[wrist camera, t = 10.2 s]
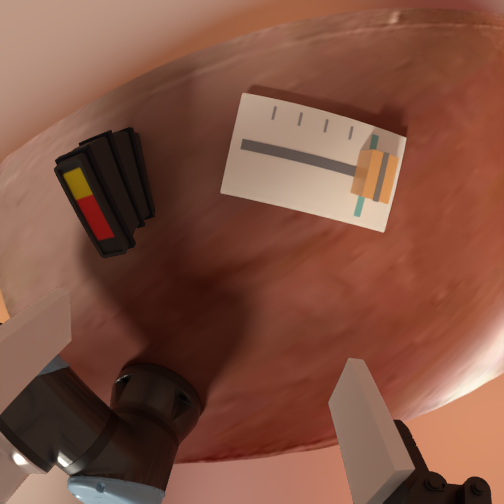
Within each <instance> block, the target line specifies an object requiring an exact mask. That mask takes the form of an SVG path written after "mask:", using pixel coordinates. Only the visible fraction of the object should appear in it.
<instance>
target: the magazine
mask: <svg viewBox="0 0 504 504" xmlns="http://www.w3.org/2000/svg"><path fill="white" fill-rule="evenodd" d="M79 146H80V147H78V148H76V149H74V150H73V151H71V152H69V153H67V154H64V155H62V156H60V157H58V158H57V159H56V160H55V162H56V164H57V166H56V167H55V168H54V172H55V174H56V176H57V178H58V180H59V182H60V184H61V186H62V188H63V190H64V192H65V194H66V195H67V197H68V199H69V201H70V203H71V205H72V207H73V209H74V211H75V212H76V214H77V216H78V218H79V220H80V221H81V223H82V225H83V227H84V229H85V230H86V232H87V234H88V235H89V237H90V239H91V241H92V242H93V244H94V246H95V247H96V249H97V251H98V252H99V254H100V256H101V257H102V258H108V257H112V256H117V255H122V254H125V253H126V251H127V249H129V248H134V246H135V244H136V242H135V240H134V238H133V234H134V231H135V229H136V228H140V227H144V226H145V222H144V220H145V219H149V218H153V217H155V215H154V213H155V209H154V205H153V201H152V196H151V192H150V187H149V183H148V178H147V173H146V169H145V164H144V159H143V154H142V149H141V144H140V139H139V134H138V133H134V130H133V128H131V127H129V128H126V129H123V130H120V131H118V132H114V133H112V131H111V130H109V131H107V132H104V133H102V134H99V135H97V136H94V137H92V138H89V139H87V140H85V141H82V142H80V143H79Z"/></svg>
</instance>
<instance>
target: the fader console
mask: <svg viewBox="0 0 504 504" xmlns="http://www.w3.org/2000/svg"><path fill="white" fill-rule="evenodd" d="M405 143H406V138H405V137H403V136H400V135H398V134H395V133H392V132H389V131H387V130H384V129H381V128H378V127H375V126H372V125H369V124H366V123H363V122H360V121H357V120H354V119H350V118H347V117H344V116H340V115H337V114H333V113H330V112H326V111H323V110H319V109H315V108H311V107H307V106H303V105H299V104H295V103H291V102H287V101H282V100H278V99H273V98H268V97H263V96H258V95H253V94H248V93H242V97H241V101H240V105H239V109H238V114H237V118H236V122H235V127H234V131H233V135H232V140H231V144H230V149H229V154H228V158H227V163H226V167H225V172H224V177H223V182H222V187H221V191H220V193H222V194H227V195H232V196H237V197H241V198H246V199H250V200H255V201H259V202H264V203H268V204H273V205H277V206H281V207H286V208H290V209H294V210H298V211H302V212H307V213H311V214H315V215H319V216H323V217H327V218H331V219H335V220H339V221H342V222H346V223H350V224H354V225H358V226H361V227H365V228H369V229H373V230H376V231H380V232H384V231H385V227H386V223H387V220H388V216H389V212H390V209H391V205H392V201H393V197H394V193H395V189H396V185H397V180H398V176H399V172H400V167H401V163H402V158H403V153H404V148H405ZM371 149H374V150H377V151H380V152H383V153H384V152H387V153H390V154H389V155H392V156H395V157H398V158H399V160H398V165H397V169H396V174H395V178H394V182H393V187H392V191H391V195H390V199H389V203H388V204H385V203H382V202H379V201H378V202H375V201H372V199H369V198H365V197H362V196H359V195H356V194H353V193H350V191H351V187H352V183H353V179H354V175H355V171H356V166H357V162H358V157H359V153H360V151H364V150H371Z"/></svg>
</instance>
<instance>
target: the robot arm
mask: <svg viewBox="0 0 504 504" xmlns="http://www.w3.org/2000/svg"><path fill="white" fill-rule="evenodd" d="M70 341H71V320H70V291H67V290H65V289H62V288H59V287H57V288H55V289H54V290H52V291H51V292H49V293H48V294H46V295H45V296H43V297H41V298H40V299H38V300H37V301H35V302H34V303H32V304H31V305H29V306H28V307H26V308H25V309H23V310H22V311H20V312H19V313H18V314H16V315H15V316H13V317H12V318H10V319H9V320H7V321H6V322H5V323H3V324H2V323H0V504H5V503H6V502H7V501H8V500H9V498H10V497H11V496H12V495H13V493H14V492H15V491H16V490H17V489H18V487H19V486H20V485H21V484H22V483H23V481H24V480H25V479H26V478H27V477H28V476H29V474H32V473H34V474H47V473H48V472H49V471H50V470H51V468H52V467H53V466H54V465H57V466H58V467H59V468H60V469H62V470H63V471H64V472H65V473H67V474H68V475H69V476H70V478H69V479H68V480H67V481H68V484H67V487H68V490H69V491H70V492H71V493H72V494H73V495H74V496H75V497H76V498H77V499H78V500H80V501H82V502H83V503H85V504H161V503H162V500H163V498H164V497H165V490H166V487H167V484H168V480H169V477H170V473H171V470H172V467H173V464H174V460H175V457H176V454H177V450H178V447H179V445H180V444H181V442H182V441H183V440H184V439H185V438H186V437H187V436H188V435H189V433H190V432H191V431H192V430H193V429H194V428H195V426H196V424H197V422H198V419H199V416H200V412H201V403H200V400H199V397H198V395H197V393H196V392H195V390H194V389H193V388H192V386H191V385H190V384H189V383H188V382H187V381H186V380H184V379H183V378H182V377H180V376H179V375H177V374H176V373H174V372H172V371H170V370H168V369H166V368H163V367H160V366H156V365H151V364H136V365H132V366H129V367H127V368H125V369H124V370H123V371H122V372H121V373H120V374H119V376H118V377H117V379H116V380H115V382H114V384H113V387H112V393H111V400H110V408H109V407H108V406H107V405H106V404H105V403H104V402H103V401H102V400H101V399H100V398H99V397H98V396H97V395H96V394H95V393H94V392H93V391H92V390H91V389H90V388H89V387H88V386H87V385H86V384H85V383H84V382H83V381H82V380H81V379H80V378H79V377H78V376H77V374H76V373H75V372H74V371H73V370H72V369H71V368H70V367H69V366H70V364H69V363H66V362H65V361H64V360H63V359H62V358H61V357H60V356H59V355H58V353H59V352H60V351H61V350H62V349H63V348H64V347H65V346H66V345H67V344H68V343H69V342H70ZM328 403H329V407H330V411H331V415H332V419H333V422H334V426H335V430H336V434H337V438H338V442H339V446H340V450H341V454H342V458H343V462H344V466H345V470H346V474H347V478H348V483H349V486H350V491H351V495H352V500H353V504H492V501H491V490H490V487H489V485H488V483H487V482H486V481H485V480H484V479H482V478H480V477H470V478H468V479H467V480H466V481H465V482H464V484H462V485H456V484H447V482H446V480H445V479H444V478H443V477H442V476H441V475H440V474H438V473H435V472H432V471H429V470H428V468H427V466H426V464H425V461H424V459H423V457H422V455H421V453H420V451H419V449H418V447H417V446H416V443H415V441H414V439H412V435H411V433H410V431H409V429H408V427H407V426H406V425H405V424H404V423H403V422H402V421H401V420H393V419H392V417H391V415H390V413H389V411H388V409H387V407H386V404H385V402H384V400H383V398H382V396H381V394H380V392H379V390H378V388H377V386H376V384H375V382H374V380H373V378H372V376H371V374H370V372H369V370H368V368H367V366H366V364H365V362H364V360H361V359H353V358H348V361H347V363H346V365H345V367H344V370H343V372H342V374H341V376H340V379H339V381H338V383H337V385H336V387H335V389H334V392H333V394H332V396H331V398H330V400H329V402H328Z"/></svg>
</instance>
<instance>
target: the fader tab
mask: <svg viewBox="0 0 504 504" xmlns="http://www.w3.org/2000/svg"><path fill="white" fill-rule="evenodd" d="M389 154H390V153H387V152H384V153H383V152H380V151H377V150H374V149H371V150H364V151H360V153H359V157H358V162H357V166H356V171H355V175H354V179H353V183H352V187H351V191H350V193H353V194H356V195H359V196H362V197H365V198H369V199H372V201H375V202H378V201H379V202H382V203H385V204H388V203H389V199H390V195H391V191H392V187H393V182H394V178H395V174H396V169H397V165H398V160H399V158H398V157H395V156H392V155H389Z"/></svg>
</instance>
